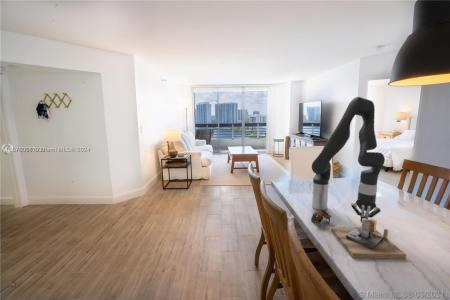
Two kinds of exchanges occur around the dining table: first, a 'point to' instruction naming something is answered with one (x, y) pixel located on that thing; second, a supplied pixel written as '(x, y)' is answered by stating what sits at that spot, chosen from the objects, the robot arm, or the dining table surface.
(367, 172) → the robot arm
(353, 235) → the knobbed grey plate
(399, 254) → the post base
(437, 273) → the dining table surface
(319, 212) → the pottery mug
